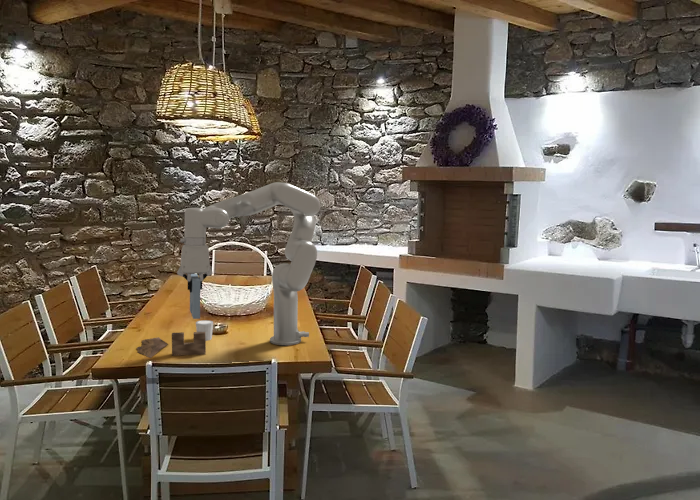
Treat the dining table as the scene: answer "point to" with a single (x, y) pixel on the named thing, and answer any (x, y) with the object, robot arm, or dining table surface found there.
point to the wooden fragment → (151, 346)
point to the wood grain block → (188, 344)
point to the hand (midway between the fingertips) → (194, 291)
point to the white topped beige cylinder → (205, 328)
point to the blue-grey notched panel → (195, 297)
